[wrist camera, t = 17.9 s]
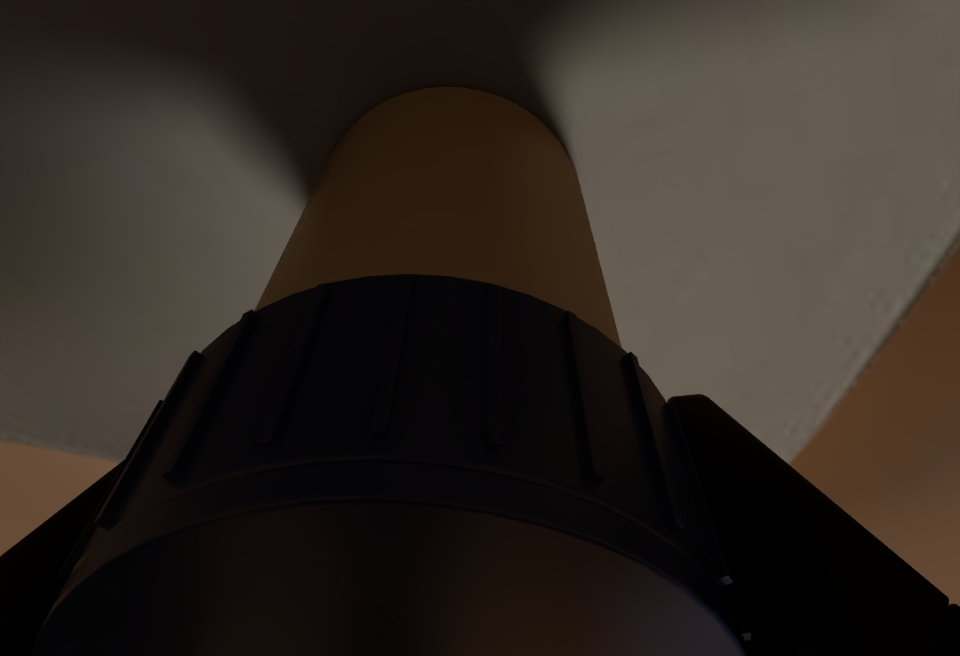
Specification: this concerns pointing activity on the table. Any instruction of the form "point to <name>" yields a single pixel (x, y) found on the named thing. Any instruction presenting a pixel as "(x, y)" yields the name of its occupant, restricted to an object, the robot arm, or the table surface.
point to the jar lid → (403, 493)
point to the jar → (450, 205)
